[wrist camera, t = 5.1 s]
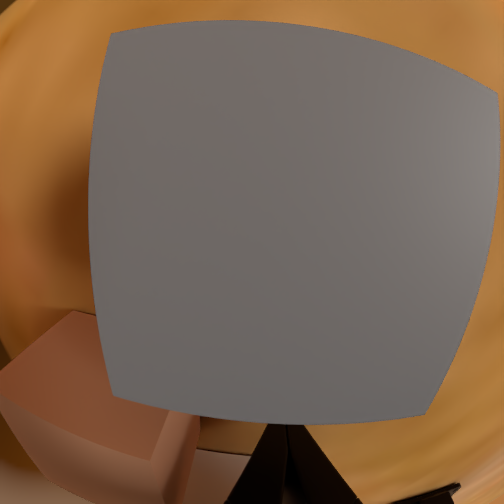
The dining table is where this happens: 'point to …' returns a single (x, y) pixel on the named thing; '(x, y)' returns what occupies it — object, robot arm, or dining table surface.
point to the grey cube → (285, 220)
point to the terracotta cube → (93, 422)
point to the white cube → (213, 477)
